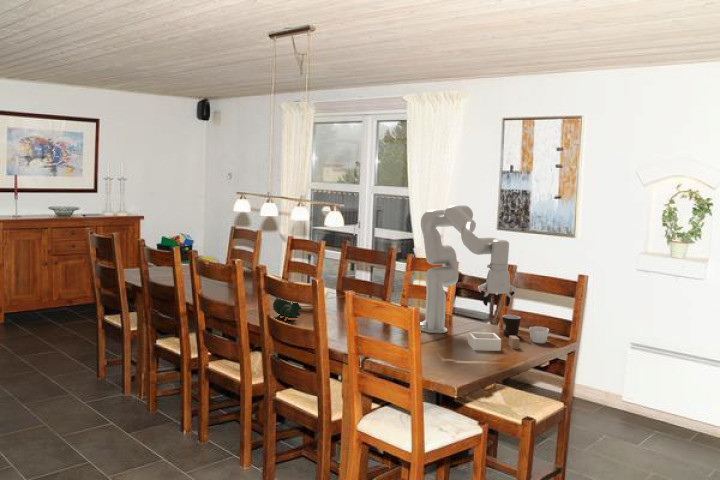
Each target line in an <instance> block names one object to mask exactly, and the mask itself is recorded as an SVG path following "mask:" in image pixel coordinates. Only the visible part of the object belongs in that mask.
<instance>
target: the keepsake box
mask: <svg viewBox="0 0 720 480" xmlns="http://www.w3.org/2000/svg"><path fill="white" fill-rule="evenodd" d="M467 334H468V335H467V344H468V345H469V346H470V347H471V349H472V350H473V351H490V352H491V351H493V352H494V351H498V352H500V351H501V348H502V338H500V337H499V336H498V335H497V333H495V332H474V331H473V332H468V333H467Z"/></svg>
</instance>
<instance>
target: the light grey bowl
mask: <svg viewBox="0 0 720 480" xmlns="http://www.w3.org/2000/svg"><path fill="white" fill-rule="evenodd" d="M549 332H550V329H549V328H548V327H544V326H537V325H535V326H530V327H529V336H530V337H529V338H530V341H531V342H532V343H535V344H546V342H547V339H548V335H549Z"/></svg>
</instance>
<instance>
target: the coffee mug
mask: <svg viewBox="0 0 720 480" xmlns="http://www.w3.org/2000/svg"><path fill="white" fill-rule="evenodd" d="M520 324H521V316H518V315H515V314H504V315H502V328H503V336H504V337H508V338H509V336H517V337H518V335H519V329H520Z"/></svg>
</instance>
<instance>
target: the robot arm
mask: <svg viewBox="0 0 720 480" xmlns="http://www.w3.org/2000/svg"><path fill="white" fill-rule="evenodd" d="M473 217H474V213H473V209H471V208H470V206H467V205H456V204H455V205H450V206H448V207H446V209H439V208H438V209H430V210H427V211H425V212H424V213H423V214H422V215H421V218H420V229H421V233H422V236H423V243H424V252H425V259H426V262H427V263H428V264H429V265H432V266H433V265H434V266H436V267H432V268H429V269H428V270H427V271H426V273H425V274H424V275H425V276H424V277H425V280H424V281H425V285H426V289H425V290H426V300H425V317H424V318H425V319H424V320H423V321H421V322H420V321H419V322H420V327H421V331H423V332H424V333H427V334H428V333H429V334H445V333H447V332H448V328H447V327H445V323H446V321H445V320H446V302H447V300H446V299H447V295H446V291H445V289H444V287H450V286H454V285H455V284H457V283H458V280H459V268H458V267H459V266H458V259H457V253H456V251H455V248H453V246H451V245H449V244H443V242H442V236H441V233H440V232H439V230H438V228H440V227H445V228H446V227H447V228H448V227H454V229H455V230H456V231H458V232H459V233H460V238H461V241H462V243H463V244H462V245H463V246H465V247H466V249H467V250H469V252H471V253H472V254H474V255H477V256H478V255H479V256H480V255H481V256H482V255H490V263H489V264H486V265H487V266H486V267H487V268H488V271H487V275H486V282H484V283H482V284H480V285H479V286H477V287H478V290H479V292H480V294H481V295H482V296H483V301H482V303H483V305H484V306H485V307H487V306H488V304H489V303H488V302H489V297H488V295H489V294H499V295H500V294H503V295H506V296H505V300H504V306H506V307H509V305H510V304H511V298H512V296H514V295H515V293H516V292H517V290H518V289H517V287H516V286H514V285H512V284H511V275H510V271H509V270H508V267H509V266H508V264H509V253H510V252H509V251H510V249H509V248H510V242H509V241H508V240H504V239H498V238H495V237H479V236H476V235H475V234H474V233H473V232H474V231H475V229H476V226H477V225H476V221H475V220H474V219H473ZM437 227H438V228H437ZM438 265H441V266H438ZM484 288H485V291H484V290H483V289H484Z"/></svg>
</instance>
